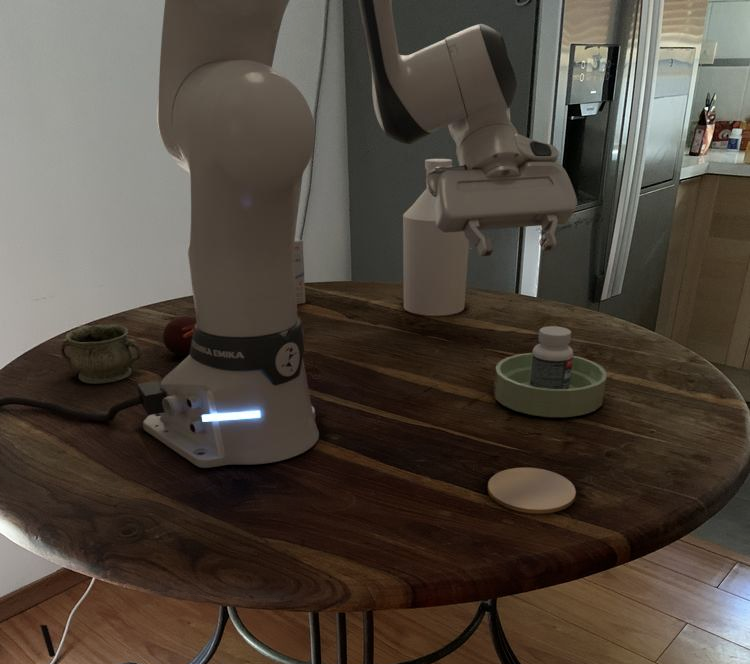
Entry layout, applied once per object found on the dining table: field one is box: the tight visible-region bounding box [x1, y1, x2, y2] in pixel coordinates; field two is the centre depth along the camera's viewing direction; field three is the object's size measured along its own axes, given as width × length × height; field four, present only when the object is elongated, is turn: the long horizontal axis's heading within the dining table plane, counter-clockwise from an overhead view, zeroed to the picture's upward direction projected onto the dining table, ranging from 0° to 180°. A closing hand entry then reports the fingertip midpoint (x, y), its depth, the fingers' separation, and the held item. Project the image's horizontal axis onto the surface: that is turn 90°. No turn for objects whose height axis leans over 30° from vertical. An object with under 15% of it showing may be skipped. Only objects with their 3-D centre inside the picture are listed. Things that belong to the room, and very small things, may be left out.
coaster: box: [487, 467, 577, 515], centre depth 76 cm, size 9×9×1 cm
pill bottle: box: [529, 325, 574, 389], centre depth 96 cm, size 5×5×9 cm
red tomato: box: [162, 315, 197, 358], centre depth 113 cm, size 8×9×6 cm
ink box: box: [294, 236, 306, 305], centre depth 137 cm, size 9×5×12 cm, turn 117°
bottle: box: [402, 158, 470, 317], centre depth 131 cm, size 12×12×25 cm
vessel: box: [59, 324, 143, 385], centre depth 106 cm, size 12×9×6 cm
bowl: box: [493, 352, 608, 418], centre depth 97 cm, size 14×14×4 cm
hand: (518, 251), depth 100 cm, fingers open, 8 cm apart
